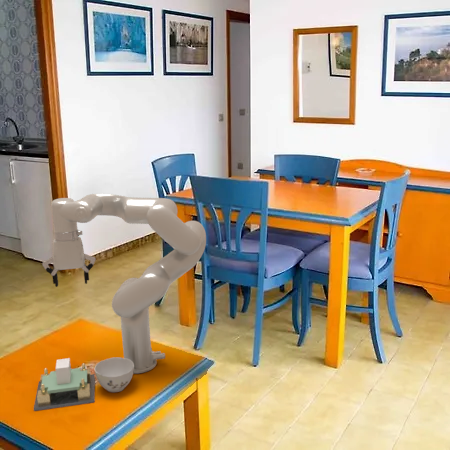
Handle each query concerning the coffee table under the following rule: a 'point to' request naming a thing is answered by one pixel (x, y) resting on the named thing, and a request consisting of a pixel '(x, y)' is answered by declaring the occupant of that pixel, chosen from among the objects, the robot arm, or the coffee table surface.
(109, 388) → the teacup
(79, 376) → the circuit board
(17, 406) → the coffee table surface
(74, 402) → the chassis
